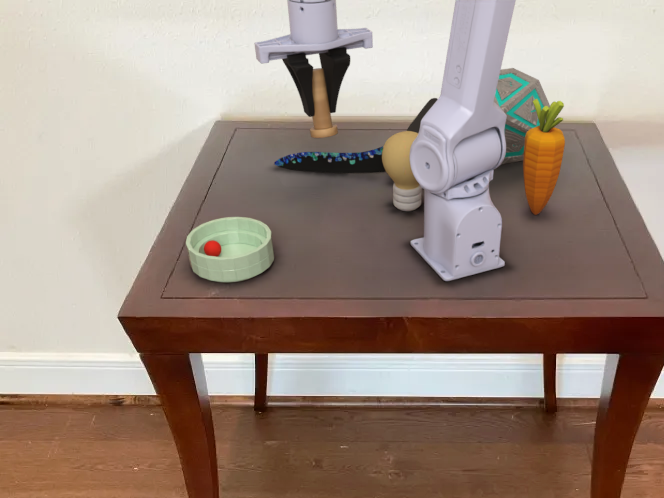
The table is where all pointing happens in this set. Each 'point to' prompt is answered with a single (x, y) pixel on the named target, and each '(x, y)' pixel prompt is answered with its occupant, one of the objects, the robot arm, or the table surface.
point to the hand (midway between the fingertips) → (320, 112)
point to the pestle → (321, 107)
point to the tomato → (212, 248)
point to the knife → (334, 162)
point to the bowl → (231, 249)
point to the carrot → (543, 156)
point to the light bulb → (402, 170)
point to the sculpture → (518, 109)
